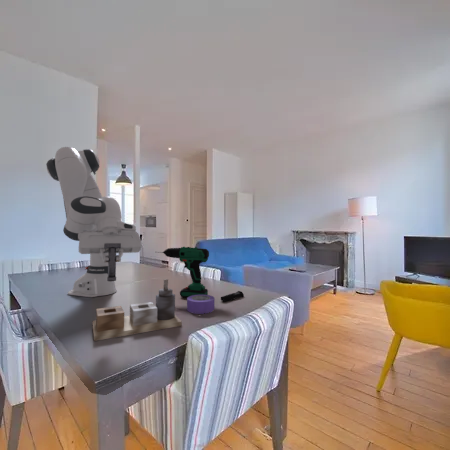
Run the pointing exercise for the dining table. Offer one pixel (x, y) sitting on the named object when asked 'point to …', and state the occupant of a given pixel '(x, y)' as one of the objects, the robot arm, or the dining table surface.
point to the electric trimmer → (232, 296)
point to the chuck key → (112, 260)
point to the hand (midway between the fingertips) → (112, 261)
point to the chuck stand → (137, 317)
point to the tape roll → (200, 304)
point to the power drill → (191, 267)
